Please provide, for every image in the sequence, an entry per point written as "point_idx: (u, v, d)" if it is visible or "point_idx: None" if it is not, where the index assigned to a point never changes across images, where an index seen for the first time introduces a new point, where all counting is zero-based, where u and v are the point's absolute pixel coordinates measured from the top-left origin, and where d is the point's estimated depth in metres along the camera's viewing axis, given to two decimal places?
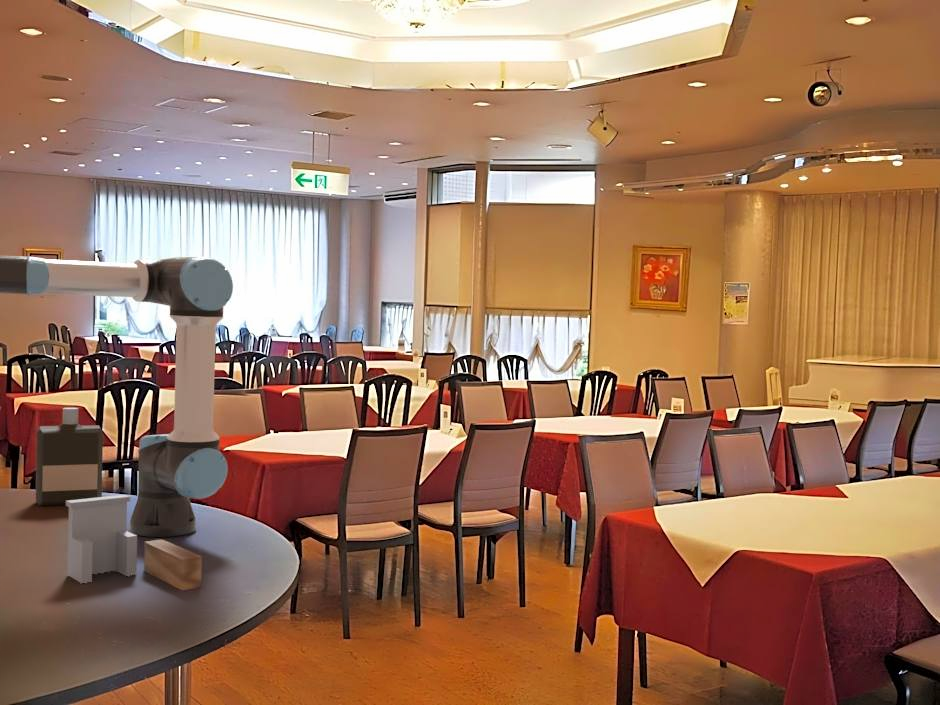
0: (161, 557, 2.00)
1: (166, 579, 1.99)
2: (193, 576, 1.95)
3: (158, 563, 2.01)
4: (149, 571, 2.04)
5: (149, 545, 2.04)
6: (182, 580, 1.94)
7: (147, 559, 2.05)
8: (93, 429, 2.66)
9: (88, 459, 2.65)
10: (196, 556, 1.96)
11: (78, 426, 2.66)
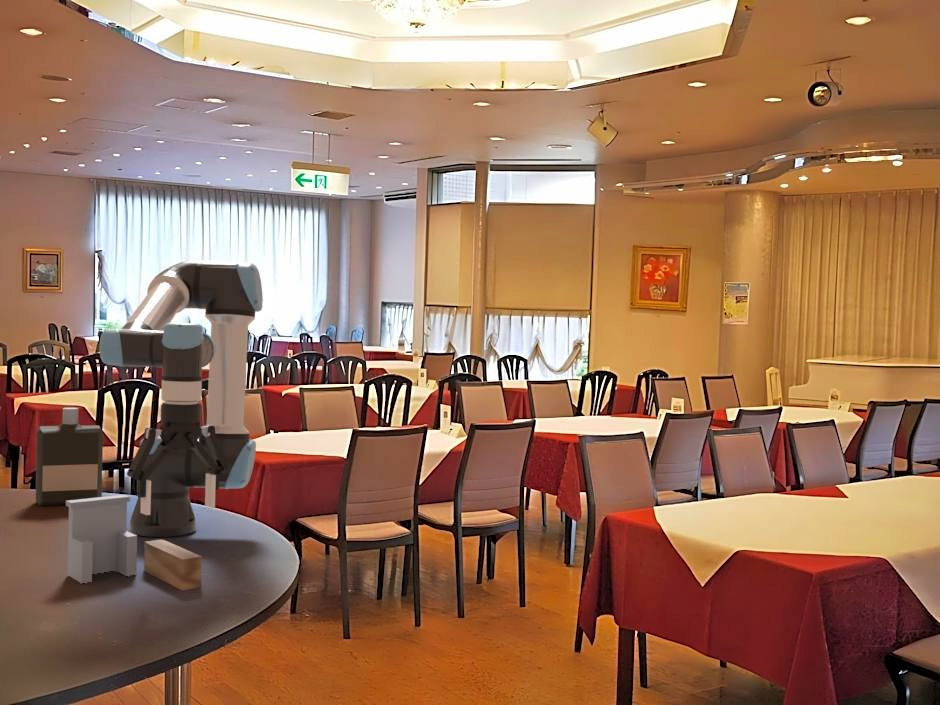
0: (161, 557, 2.00)
1: (166, 579, 1.99)
2: (193, 576, 1.95)
3: (158, 563, 2.01)
4: (149, 571, 2.04)
5: (149, 545, 2.04)
6: (182, 580, 1.94)
7: (147, 559, 2.05)
8: (93, 429, 2.66)
9: (88, 459, 2.65)
10: (196, 556, 1.96)
11: (78, 426, 2.66)
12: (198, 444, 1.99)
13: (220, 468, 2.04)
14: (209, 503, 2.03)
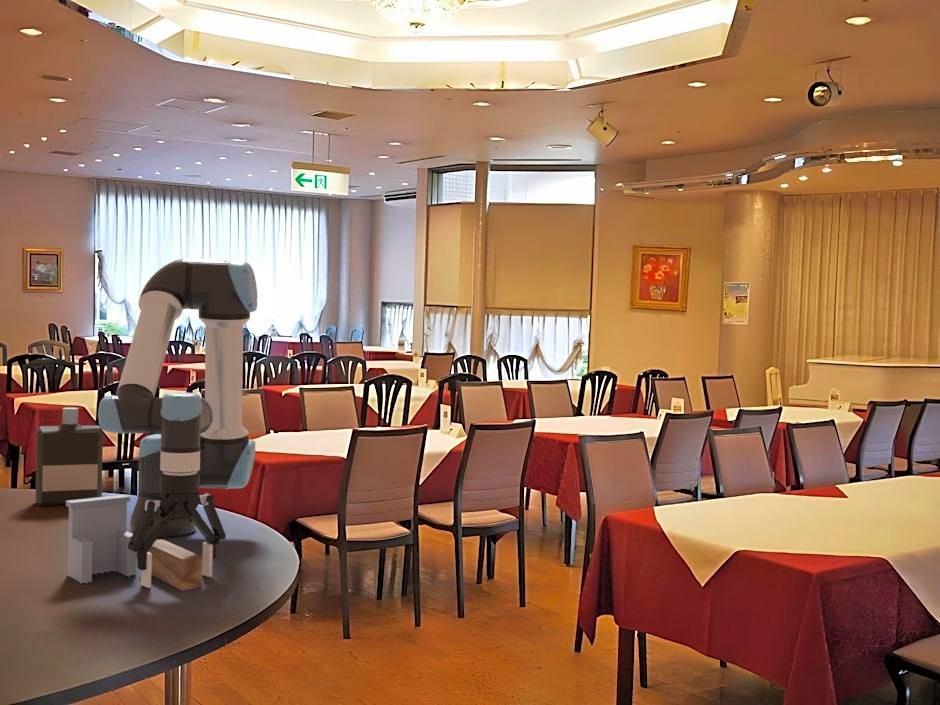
0: (161, 557, 2.00)
1: (166, 579, 1.99)
2: (193, 576, 1.95)
3: (158, 563, 2.01)
4: None
5: None
6: (182, 580, 1.94)
7: None
8: (93, 429, 2.66)
9: (88, 459, 2.65)
10: (196, 556, 1.96)
11: (78, 426, 2.66)
12: (196, 514, 2.00)
13: (217, 537, 2.04)
14: (206, 572, 2.03)
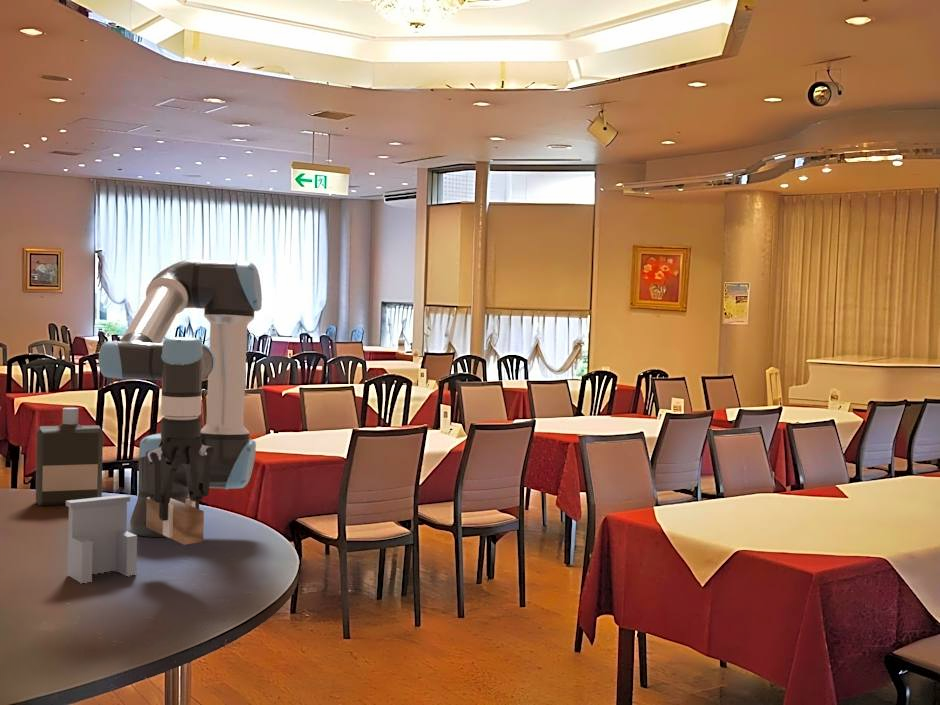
0: None
1: None
2: (195, 530, 1.95)
3: None
4: (151, 527, 2.04)
5: (151, 501, 2.04)
6: (185, 534, 1.94)
7: (149, 515, 2.05)
8: (93, 429, 2.66)
9: (88, 459, 2.65)
10: (198, 511, 1.96)
11: (78, 426, 2.66)
12: (193, 462, 1.99)
13: (200, 494, 2.02)
14: None
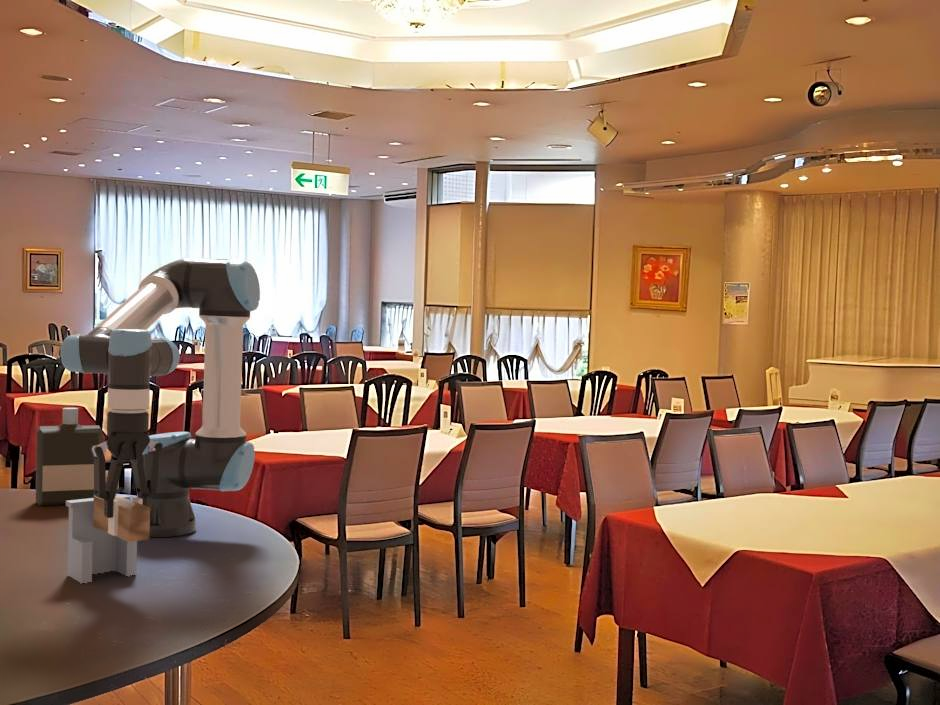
0: None
1: None
2: (140, 527, 1.89)
3: None
4: (98, 525, 1.98)
5: (98, 498, 1.98)
6: (129, 531, 1.87)
7: (95, 513, 1.98)
8: (93, 429, 2.66)
9: (88, 459, 2.65)
10: (144, 507, 1.90)
11: (78, 426, 2.66)
12: (140, 457, 1.93)
13: (148, 491, 1.95)
14: None
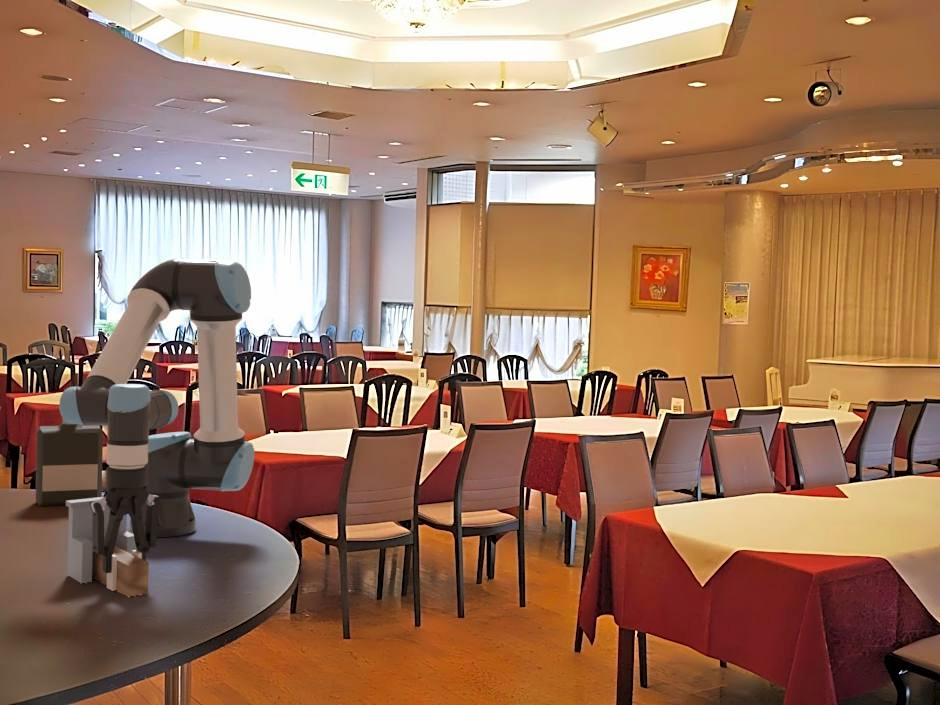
0: None
1: None
2: (139, 582, 1.89)
3: None
4: (97, 577, 1.98)
5: None
6: (128, 587, 1.88)
7: (95, 565, 1.99)
8: (93, 429, 2.66)
9: (88, 459, 2.65)
10: (143, 562, 1.90)
11: (78, 426, 2.66)
12: (139, 512, 1.93)
13: (147, 545, 1.96)
14: None
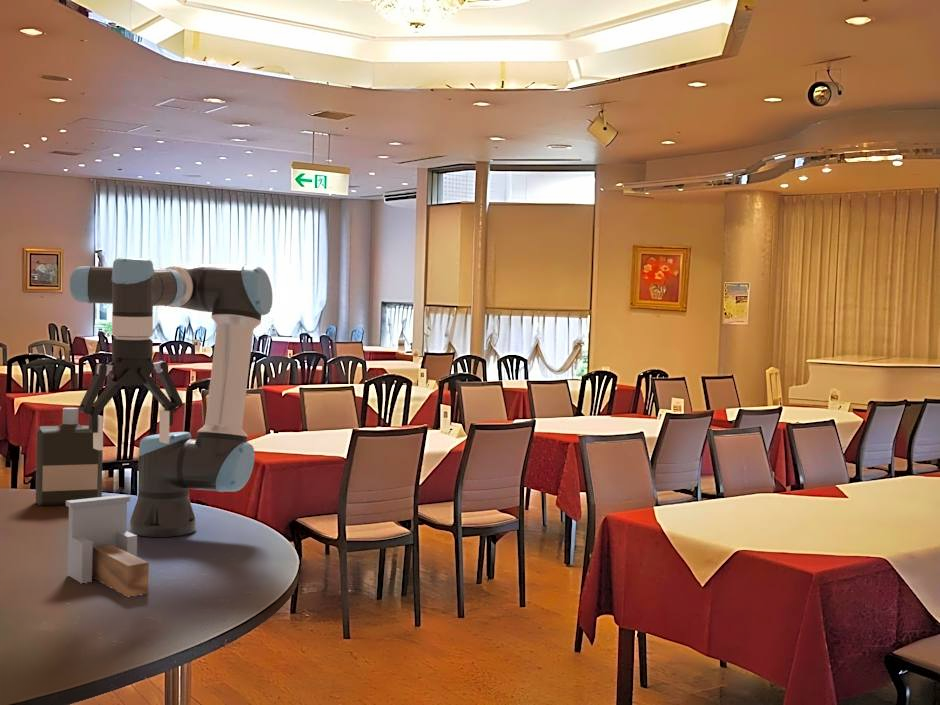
0: (108, 563, 1.94)
1: (112, 586, 1.93)
2: (139, 582, 1.89)
3: (105, 569, 1.95)
4: (97, 577, 1.98)
5: (97, 550, 1.98)
6: (128, 587, 1.88)
7: (95, 565, 1.99)
8: None
9: (88, 459, 2.65)
10: (143, 562, 1.90)
11: (78, 426, 2.66)
12: (150, 380, 1.99)
13: (174, 404, 2.04)
14: (163, 439, 2.03)
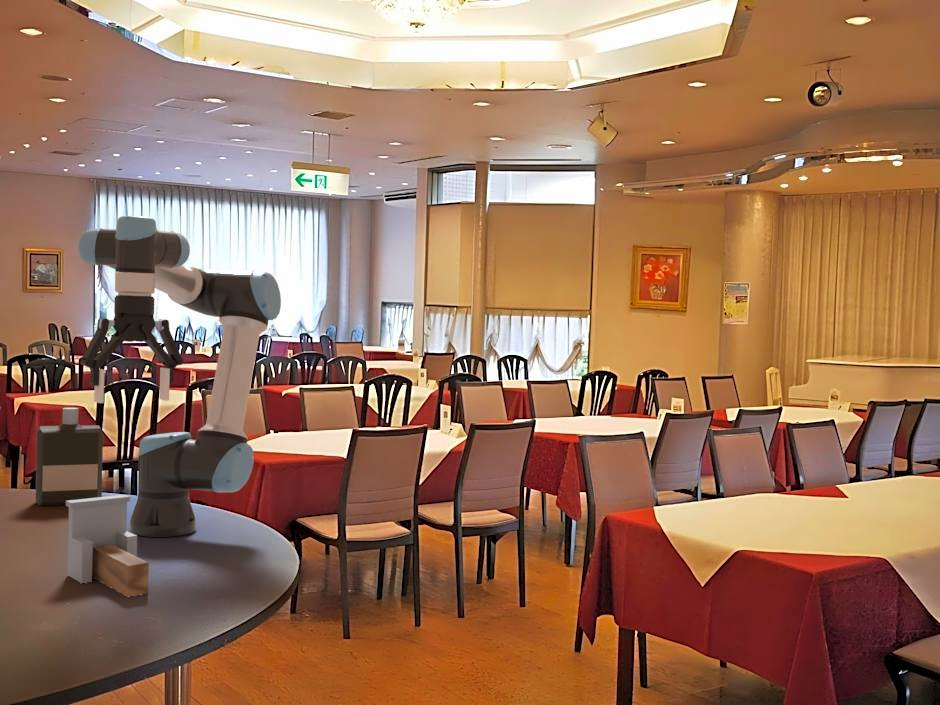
0: (108, 563, 1.94)
1: (112, 586, 1.93)
2: (139, 582, 1.89)
3: (105, 569, 1.95)
4: (97, 577, 1.98)
5: (97, 550, 1.98)
6: (128, 587, 1.88)
7: (95, 565, 1.99)
8: (93, 429, 2.66)
9: (88, 459, 2.65)
10: (143, 562, 1.90)
11: (78, 426, 2.66)
12: (151, 336, 2.03)
13: (174, 362, 2.07)
14: (163, 396, 2.07)
